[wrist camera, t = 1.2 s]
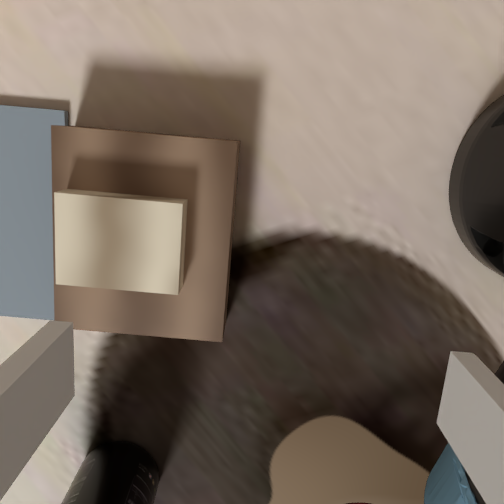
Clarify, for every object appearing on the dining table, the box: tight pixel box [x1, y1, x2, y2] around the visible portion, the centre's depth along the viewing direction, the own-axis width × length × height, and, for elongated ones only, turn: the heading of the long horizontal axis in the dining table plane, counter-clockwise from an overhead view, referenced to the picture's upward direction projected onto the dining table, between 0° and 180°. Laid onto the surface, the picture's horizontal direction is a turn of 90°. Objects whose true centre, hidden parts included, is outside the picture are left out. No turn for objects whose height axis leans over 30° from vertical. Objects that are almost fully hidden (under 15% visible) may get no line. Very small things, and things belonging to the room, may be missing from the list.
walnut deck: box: [51, 125, 240, 342], centre depth 34 cm, size 12×14×4 cm
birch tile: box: [54, 189, 188, 295], centre depth 31 cm, size 8×6×2 cm
